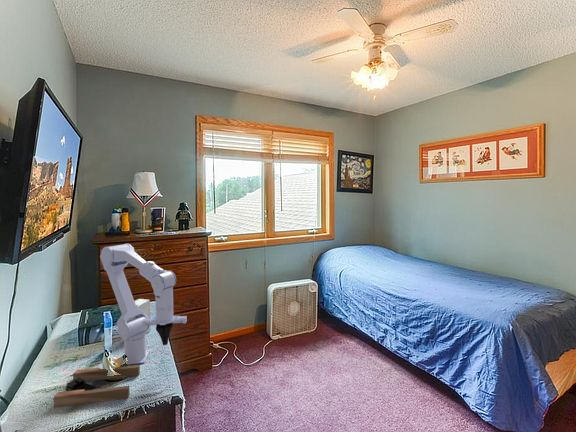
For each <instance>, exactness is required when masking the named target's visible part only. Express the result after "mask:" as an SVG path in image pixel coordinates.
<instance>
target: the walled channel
mask: <svg viewBox="0 0 576 432" xmlns="http://www.w3.org/2000/svg"><path fill="white" fill-rule="evenodd" d="M114 368H115V367H114ZM113 370H114V371H115V372H117V373H119V374H121V375H114V376H107V375H108V374H107V373H108V370H106V369H105V368H101V367H94V368H86V369H85V368H84V369H76V370H75V371H74V372H73V373H72V380H74V379H76V378H78V377H79V378H82V379H84V381H85V383H87V382H93V381H103V380H112V379H121V378H128V377H129V378H131V377H138V376H140V374H141V373H140V370H141V369H140V364H133V365H123V366H116V368H115V369H113ZM130 392H131V391H130V385H122V386H114V387H106V388H95V389H93V390H87V391H85V389H83V390H74V391H66V390H65V391H59V392H57V393H56V394H55V395H54V396H53V407H54V408H58V407H59V408H60V407H65V406H75V405H81V404H82V405H83V404H91V403H97V402H109V401H115V400H123V399H124V400H125V399H129V397H130Z"/></svg>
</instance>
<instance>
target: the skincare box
mask: <svg viewBox="0 0 576 432" xmlns="http://www.w3.org/2000/svg"><path fill="white" fill-rule="evenodd" d="M134 302H135V304H136V307H137V308H138V309H141V310H143V311H144V312H145V314H146V316H147V317H148V318H151V302H150V299H146V298H145V299H144V298H138V299H136V300H134ZM134 318H135V317H134ZM134 318H131V319H128V320H127V321H129V320H132V319H134ZM151 326H152V325H150V327H149V329H148V330H147V333H149V332H150V331H151V330H152V329H151V328H152V327H151ZM147 333H146V334H147Z"/></svg>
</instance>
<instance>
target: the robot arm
mask: <svg viewBox="0 0 576 432" xmlns="http://www.w3.org/2000/svg"><path fill="white" fill-rule="evenodd" d="M99 258H100V261H101V264H102V266H103V270H104V271H105V272H106V274H107V276H108V279H109V282H110V285H111V288H112V290H113V292H114V293H113V294H114V296H115V299H116V301H117V305H118V307H119V309H120V310H119V311H120V312H121V315H120V317H119V318H118V319H117V321H116V324H117V332H118V335H119V337H120V339H121V340H123V346H124V347H123V348H124V352H123V353H124V356H125V355H126V356H127V360H128V361H127V365H126V366H130V365H139V364H144V363H145V362H146V361H147V357H148V356H149V354H150V351H151V350H150V349H149V348H148V335H147V330H148V329H149V327H150V326H156V327H155V330H156V332H157V333H158V336H159V337H160V339H161V342H162V346H167V345H168V344H169V337H170V334H171V330H172V327H173V325H174V324H183V325H184V324H187V321H188V319H187V315H174V286H175V285H176V284H177V277H176V274H175V273H174V272H173V271H172V270H164V269H163V268H162V267H160V266H159V265H157V264H156V263H155V262H154V261H151V260H149V261H146V260H145V259H143V258H142V257H141V256H140V255H139V254H138V253H137V252H136V251H135V247H134V246H132V245H131V244H130V243H124V244H118V245H111V246H104V247H102V249H101V251H100V255H99ZM128 265H132V266H133V267H135V268H136V269H138V270H139V271H138V272H139V275H140V276H142V277H143V278H145V279H146V280H147V281H149V282H150V285H151V288H152V289H153V294H154V297H155V317H150V318H148V317H147V316H146V314H145V312H144V311H143V310H141V309H138V308H137V307H136V304H135V302H134V301H135V300H134V297H133V294H132V291H131V288H130V286H129V282H128V281H127V277H126V275H125V272H124V269H125V268H126V267H127V266H128ZM134 317H135V318H134ZM131 318H134V319H132V320H129V321H127V320H128V319H131Z"/></svg>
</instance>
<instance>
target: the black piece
mask: <svg viewBox="0 0 576 432" xmlns="http://www.w3.org/2000/svg"><path fill="white" fill-rule="evenodd" d="M83 389H85V391H87V390H96V389H97V386H94V385H92V384H90V383H87V382H85V381H84V379H82V378H79V377H78V378H76V379H74V380H73V379H72V380H70V381H69V382H68V381H67V382H66V386H65V391H74V390H83Z"/></svg>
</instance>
